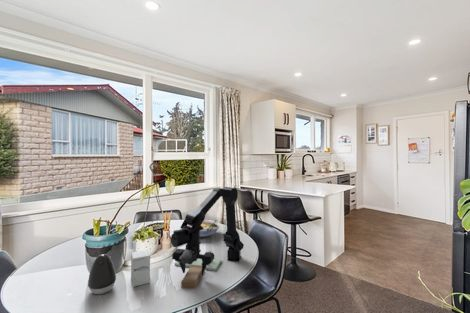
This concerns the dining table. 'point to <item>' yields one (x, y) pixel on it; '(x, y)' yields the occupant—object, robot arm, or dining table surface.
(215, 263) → the peg base
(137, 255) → the supplement box
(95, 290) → the tapered speaker
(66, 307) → the dining table surface
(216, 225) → the ramen bowl
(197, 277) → the brown rectangular block
